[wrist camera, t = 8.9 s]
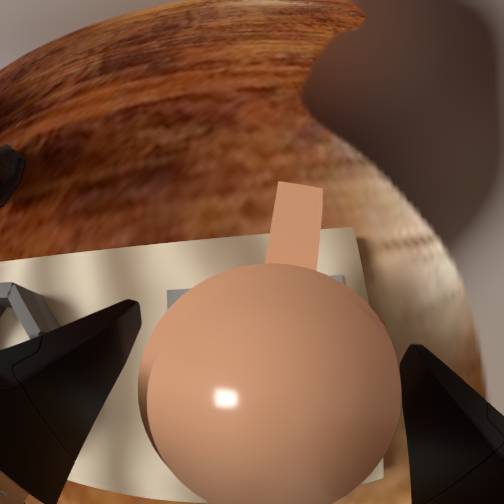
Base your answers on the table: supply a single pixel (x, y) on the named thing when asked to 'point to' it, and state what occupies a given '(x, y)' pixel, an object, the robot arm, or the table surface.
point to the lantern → (9, 171)
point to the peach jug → (272, 376)
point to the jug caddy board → (152, 309)
